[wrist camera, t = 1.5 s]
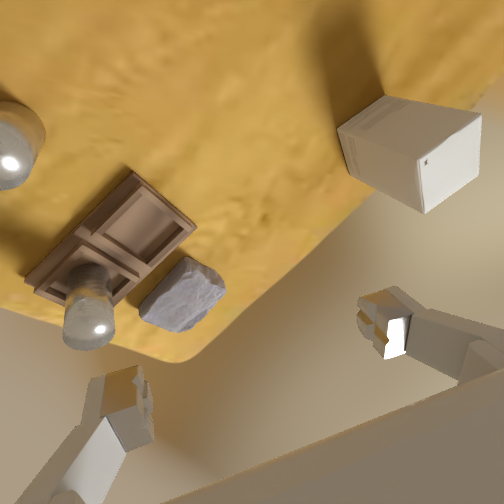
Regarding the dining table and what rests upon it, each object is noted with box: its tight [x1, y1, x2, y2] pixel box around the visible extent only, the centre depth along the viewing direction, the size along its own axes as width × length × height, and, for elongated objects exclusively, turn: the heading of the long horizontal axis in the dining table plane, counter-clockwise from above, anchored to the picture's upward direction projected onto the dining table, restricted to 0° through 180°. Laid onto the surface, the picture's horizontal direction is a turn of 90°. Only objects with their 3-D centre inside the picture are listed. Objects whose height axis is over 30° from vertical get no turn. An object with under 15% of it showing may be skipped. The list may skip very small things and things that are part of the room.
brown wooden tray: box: [24, 171, 197, 307], centre depth 41 cm, size 11×19×2 cm, turn 127°
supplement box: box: [337, 95, 482, 214], centre depth 43 cm, size 9×9×15 cm
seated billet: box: [63, 263, 115, 351], centre depth 38 cm, size 5×5×10 cm
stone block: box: [139, 257, 226, 333], centre depth 49 cm, size 12×5×10 cm
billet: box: [0, 101, 45, 191], centre depth 27 cm, size 5×5×10 cm
